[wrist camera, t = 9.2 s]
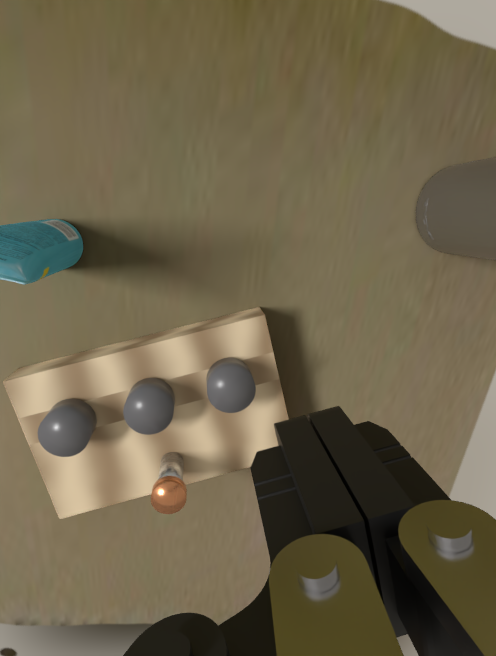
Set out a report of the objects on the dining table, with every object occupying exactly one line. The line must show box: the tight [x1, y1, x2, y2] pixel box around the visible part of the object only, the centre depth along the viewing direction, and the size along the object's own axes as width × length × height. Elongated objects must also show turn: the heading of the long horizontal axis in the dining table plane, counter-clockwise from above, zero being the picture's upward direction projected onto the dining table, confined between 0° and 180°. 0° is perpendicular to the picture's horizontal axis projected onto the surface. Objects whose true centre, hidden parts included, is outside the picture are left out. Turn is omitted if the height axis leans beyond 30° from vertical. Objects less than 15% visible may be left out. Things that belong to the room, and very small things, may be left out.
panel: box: [3, 307, 289, 519], centre depth 46 cm, size 26×16×4 cm, turn 103°
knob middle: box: [123, 378, 175, 435], centre depth 44 cm, size 5×5×7 cm
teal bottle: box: [0, 219, 83, 284], centre depth 34 cm, size 7×5×19 cm, turn 80°
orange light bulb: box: [151, 452, 187, 514], centre depth 43 cm, size 3×3×6 cm
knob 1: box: [38, 399, 97, 457], centre depth 44 cm, size 5×5×7 cm
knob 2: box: [206, 357, 256, 413], centre depth 44 cm, size 5×5×7 cm
